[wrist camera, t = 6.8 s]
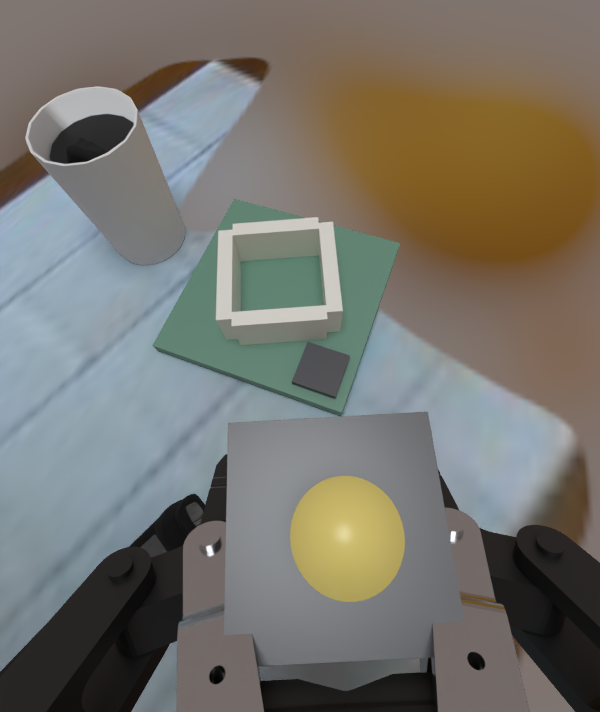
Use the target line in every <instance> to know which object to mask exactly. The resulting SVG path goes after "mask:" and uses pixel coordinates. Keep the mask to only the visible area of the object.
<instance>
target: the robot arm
mask: <svg viewBox="0 0 600 712" xmlns="http://www.w3.org/2000/svg"><path fill="white" fill-rule="evenodd" d="M438 473H439V479H440V485H441V490H442V496H443V502H444V507H445V513H446V519H447V524H448V530H449V536H450V541H451V547H452V553H453V558H454V564H455V570H456V575H457V581H458V587H459V592H460V598H461V604H462V609H463V615H464V621H461V622H444V623H433V656H432V658H420V673H404V674H392V675H389V676H387V677H384V678H381V679H379V680H376V681H374V682H371V683H369V684H366V685H363V686H361V687H358V688H356V689H353V690H350V691H341V690H337V689H333V688H329V687H326V686H322V685H318V684H314V683H310V682H306V681H303V680H299V679H291V680H272V681H261V678H260V672H259V666H257V663H256V656H255V650H254V644H253V638H252V634H237V635H224V605H225V554H226V504H227V454H226V455H225V456H224V457H223V458H222V459H221V460H220V462H219V463H218V464H217V465H216V469H215V473H214V476H213V480H212V483H211V489H210V490H209V494H208V497H207V501H206V505H205V508H204V512H203V515H202V519H201V522H200V525H199V526H198V527H196V528H195V529H194V530H192V531H191V532H190V534H189V535H188V536H187V538H186V540H185V542H184V545H182V546H180V547H178V548H177V549H174V550H172V551H169V552H166V553H163V554H160V555H157V556H154V557H150V555H149V553H148V552H147V551H146V550H145V549H143V548H140V547H127V548H124V549H121V550H118V551H116V552H114V553H112V554H111V555H109V556H108V557H106V558H105V559H104V560H103V561H102V562H101V563H100V564H99V565H98V566H97V567H96V569H95V570H94V571H93V572H92V573H91V574H90V575H89V576H88V578H87V579H86V580H85V581H84V582H83V583H82V584H81V586H80V587H79V588H78V589H77V590H76V591H75V592H74V594H73V595H72V596H71V597H70V598H69V599H68V600H67V601H66V603H65V604H64V605H63V606H62V607H61V608H60V609H59V611H58V612H57V613H56V614H55V615H54V616H53V617H52V619H51V620H50V621H49V622H48V623H47V624H46V625H45V626H44V628H43V629H42V630H41V631H40V632H39V633H38V634H37V636H36V637H35V638H34V639H33V640H32V641H31V642H30V644H29V645H28V646H27V647H26V648H25V649H24V650H23V652H22V653H21V654H20V655H19V656H18V657H17V658H16V659H15V661H14V662H13V663H12V664H11V665H10V666H9V667H8V669H7V670H6V671H5V672H4V673H3V674H2V675H1V677H0V712H131V711H132V709H133V707H134V706H135V704H136V702H137V700H138V699H139V697H140V695H141V694H142V692H143V690H144V688H145V687H146V685H147V683H148V681H149V680H150V678H151V676H152V674H153V673H154V671H155V669H156V667H157V666H158V664H159V662H160V660H161V659H162V657H163V655H164V654H165V652H166V650H167V648H168V646H169V644H170V643H173V642H175V641H177V712H530V710H529V706H528V702H527V698H526V693H525V689H524V685H523V681H522V676H521V672H520V668H519V664H518V659H517V655H516V651H515V647H514V642H513V638H512V636H513V637H514V638H515V639H516V640H517V642H518V643H519V644H520V645H521V646H522V648H523V649H524V650H525V651H526V653H527V654H528V655H529V656H530V657H531V659H532V660H533V661H534V662H535V663H536V665H537V666H538V667H539V668H540V669H541V671H542V672H543V673H544V674H545V675H546V677H547V678H548V679H549V680H550V681H551V683H552V684H553V685H554V686H555V688H556V689H557V690H558V691H559V692H560V694H561V695H562V696H563V697H564V699H565V700H566V701H567V702H568V703H569V705H570V706H571V707H572V708H573V709H574V711H575V712H600V563H599V562H598V561H597V560H596V559H594V558H593V557H592V556H591V555H590V554H588V553H587V552H586V551H585V550H583V549H582V548H581V547H580V546H578V545H577V544H576V543H575V542H573V541H572V540H571V539H570V538H568V537H567V536H566V535H564V534H562V533H561V532H559V531H557V530H555V529H552V528H549V527H546V526H541V525H529V526H525V527H523V528H521V529H520V530H519V532H518V533H517V537H512V536H507V535H502V534H497V533H493V532H489V531H486V530H483V529H481V528H479V526H478V525H477V523H476V522H475V521H474V520H473V519H472V518H471V517H470V516H468V515H467V514H465V513H464V512H461V511H460V510H459V509H458V507H457V505H456V503H455V501H454V499H453V497H452V495H451V493H450V491H449V489H448V487H447V485H446V484H445V482H444V480H443V478H442V476H441V475H440V472H439V470H438Z"/></svg>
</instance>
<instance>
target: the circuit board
mask: <svg viewBox="0 0 600 712" xmlns="http://www.w3.org/2000/svg"><path fill="white" fill-rule="evenodd" d="M301 218H304V217H300V216H297V215H293V214H289V213H285V212H281V211H278V210H274V209H270V208H267V207H263V206H259V205H255V204H252V203H248V202H244V201H240V200H237V199H234V201H233V202H232V204H231V206H230V207H229V209H228V211H227V213H226V215H225V217H224V218H223V220H222V222H221V224H220V226H219V227H218V229H217V231H216V233H215V234H214V236H213V238H212V240H211V242H210V243H209V245H208V247H207V249H206V251H205V252H204V254H203V256H202V258H201V259H200V261H199V263H198V265H197V267H196V268H195V270H194V272H193V274H192V276H191V277H190V279H189V281H188V283H187V285H186V286H185V288H184V290H183V292H182V294H181V295H180V297H179V299H178V301H177V303H176V304H175V306H174V308H173V310H172V312H171V313H170V315H169V317H168V319H167V321H166V322H165V324H164V326H163V328H162V330H161V331H160V333H159V335H158V337H157V339H156V340H155V342H154V344H153V346H154V347H155V348H156V349H157V350H158V351H160V352H163V353H165V354H168V355H171V356H174V357H177V358H179V359H182V360H185V361H188V362H191V363H193V364H196V365H199V366H202V367H205V368H207V369H210V370H213V371H216V372H219V373H221V374H224V375H227V376H230V377H233V378H235V379H238V380H241V381H244V382H247V383H249V384H252V385H255V386H258V387H261V388H263V389H266V390H269V391H272V392H275V393H277V394H280V395H283V396H286V397H289V398H291V399H294V400H297V401H300V402H303V403H305V404H308V405H311V406H314V407H317V408H319V409H322V410H325V411H328V412H331V413H333V414H336V415H339V416H341V415H342V412H343V409H344V406H345V403H346V401H347V398H348V395H349V392H350V389H351V386H352V383H353V380H354V377H355V374H356V371H357V369H358V366H359V363H360V360H361V357H362V354H363V351H364V348H365V345H366V342H367V339H368V336H369V334H370V331H371V328H372V325H373V322H374V319H375V316H376V313H377V310H378V307H379V304H380V302H381V299H382V295H383V293H384V290H385V287H386V284H387V281H388V278H389V275H390V272H391V270H392V267H393V263H394V261H395V258H396V255H397V252H398V248H399V246H400V243H397V242H393V241H390V240H386V239H382V238H379V237H374V236H371V235H367V234H364V233H360V232H356V231H353V230H349V229H345V228H341V227H337V226H334V225H333V227H334V236H335V245H336V254H337V263H338V272H339V281H340V290H341V299H342V308H343V314H342V322H341V331H340V332H327V339H321V340H306V341H292V342H278V343H264V344H250V345H240V343H239V341H238V339H229V340H226V338H225V336H224V334H223V332H222V331H221V329H220V327H219V325H218V323H217V321H216V295H217V260H218V231H220V230H233V224H237V223H250V222H263V221H275V220H288V219H301ZM318 223H322V222H319V221H318ZM320 305H324V304H323V293H322V282H321V271H320V260H319V255H318V256H305V257H292V258H278V259H265V260H252V261H241V311H252V310H265V309H279V308H293V307H307V306H320Z"/></svg>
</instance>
